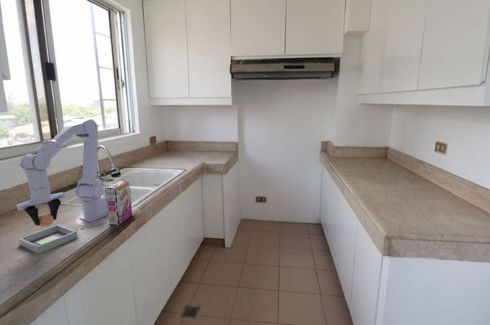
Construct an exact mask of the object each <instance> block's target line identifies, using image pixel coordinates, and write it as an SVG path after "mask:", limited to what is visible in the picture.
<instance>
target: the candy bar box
mask: <svg viewBox="0 0 490 325" xmlns="http://www.w3.org/2000/svg"><path fill="white" fill-rule="evenodd" d="M104 192H105V193H104V194H105V198H106V202H107V211H108V215H107V219H108V225H109V226H120V225H121V224H123V223H124V222H126V220H128V219H129V218H130V217H132V216H133V208H132V199H131V187H130V181H124V180H122V181H121V180H120V181H117V182H116V183H113V184H111V185H109V186H107V187H104Z"/></svg>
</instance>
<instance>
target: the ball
mask: <svg viewBox="0 0 490 325" xmlns="http://www.w3.org/2000/svg"><path fill="white" fill-rule="evenodd" d="M38 218H39V222H40V225H39V226H38V227H42V228H45V227H47V228H48V227H49V226H50V225H52V224H53V222H54V220H53V216H52V215H51V214H50V212H49V213H48V212H43V213H41V214H38Z"/></svg>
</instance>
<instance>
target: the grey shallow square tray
mask: <svg viewBox="0 0 490 325" xmlns="http://www.w3.org/2000/svg"><path fill="white" fill-rule="evenodd" d="M57 232H59V233H62V234H64V235H62V236H57V235H55V234H54V235H52V234H53V233H57ZM49 235H51V236H49ZM45 236H48V237H47V238H43V237H45ZM41 238H43V239H41ZM77 238H78V232H77V231H76V230H74V229H71V228H68V227H67V226H62V225H60V224H55V225H53V226H50V227H49V226H48V227H47V228H45V229H41V230H39V231H36V232H33V233H31V234H28V235H25V236H22V237H20V238H18V242H19V245H20V246H22V247H24V248H26V249H27V250H30V251H32V252H34V253H35V254H38V255H39V254H41V253H44V252H47V251H49V250H51V249H54V248H56V247H58V246H60V245H63V244H64V243H67V242H70V241H72V240H75V239H77ZM38 239H41V240H38ZM36 240H38V241H36ZM33 241H36V244H35V243H33ZM37 244H39V245H37Z"/></svg>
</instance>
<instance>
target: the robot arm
mask: <svg viewBox="0 0 490 325" xmlns="http://www.w3.org/2000/svg"><path fill="white" fill-rule="evenodd" d="M98 130H99V125H98V124H97V122H96V121H95V119H92V118H83V119H82V118H80V119H77V118H71V119H69V120H68V121H67V122H66V123H65V126H64V127H63V128H62V129H61V130H60V131H59V132H58V133H57V134H56V135H55V136H54V137H52V139H45V140H42V142H41V144H40V145H39V146H38V147H36V149H33V150H32V152H31V153H27V154H25V155H23V157H22V158H21V160H20V163H19V166H20V167H21V169H23V171H24V173H25V175H26V178H27V183H28V188H29V189H28V190H29V193H30V199H28V200H25V201H24V202H20V203H17V204H16V210H17V211H25V213H27V215H28V216H29V217H30V219H31V220H32V221H33V224H34V226H37V227H40V226H39V225H40V222H39V218H38V216H39V208H37V207H36V206H39V205H43V204H46V203H47V205H48V208H49V214H51V215H52V216H53V221H55V220H57V218H58V210H59V208H60V206H61V203H62V200H61V199H65V198H66V196H65V193H64V192H58V193H51V188H50V183H49V177H48V176H49V175H48V171H47V169H48V168H49V166H50V163H51V161H52V159H53V158H54V157H55V156H56V155H58V154H59V152H60V151H61V149H62V147H61V146H62V145H64V143H66V142H67V141H69V140H70V139H71V138H72V137H74V136H76V137H77V138H79V139H80V140H82V142H83V152H82V154H83V156H82V177H81V178H80V179H78V181H77V186H76V188H75V196H77V197H78V198H79V200H81V205H82V206H81V207H82V212H83V216H81V217H79V219H80V220H83V221H86V222H94V221H95V220H99V219H101V218H103V217H106V216H107V217H108V211H107V202H106V196H104V195H103V193H104V187H103V181H102V180H101V179H100V178H98V175H97V174H98V153H99V151H98V148H99V137H98V136H99V134H98V133H99V131H98Z"/></svg>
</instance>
